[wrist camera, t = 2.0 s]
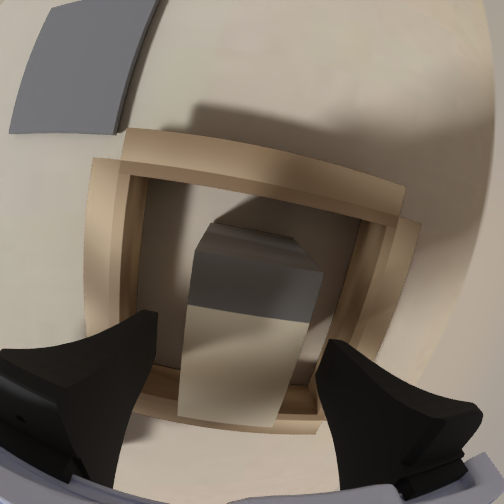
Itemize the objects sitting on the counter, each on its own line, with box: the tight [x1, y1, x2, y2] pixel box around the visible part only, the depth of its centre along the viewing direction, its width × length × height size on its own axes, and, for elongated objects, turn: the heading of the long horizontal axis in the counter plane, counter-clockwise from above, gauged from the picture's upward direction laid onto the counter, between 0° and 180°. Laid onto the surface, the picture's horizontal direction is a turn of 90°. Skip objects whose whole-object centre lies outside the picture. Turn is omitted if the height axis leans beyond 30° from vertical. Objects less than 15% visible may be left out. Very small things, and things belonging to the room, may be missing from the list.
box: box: [177, 223, 324, 427], centre depth 13 cm, size 8×4×6 cm, turn 169°
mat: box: [9, 0, 160, 135], centre depth 12 cm, size 10×9×1 cm
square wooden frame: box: [84, 128, 421, 434], centre depth 15 cm, size 16×16×3 cm
